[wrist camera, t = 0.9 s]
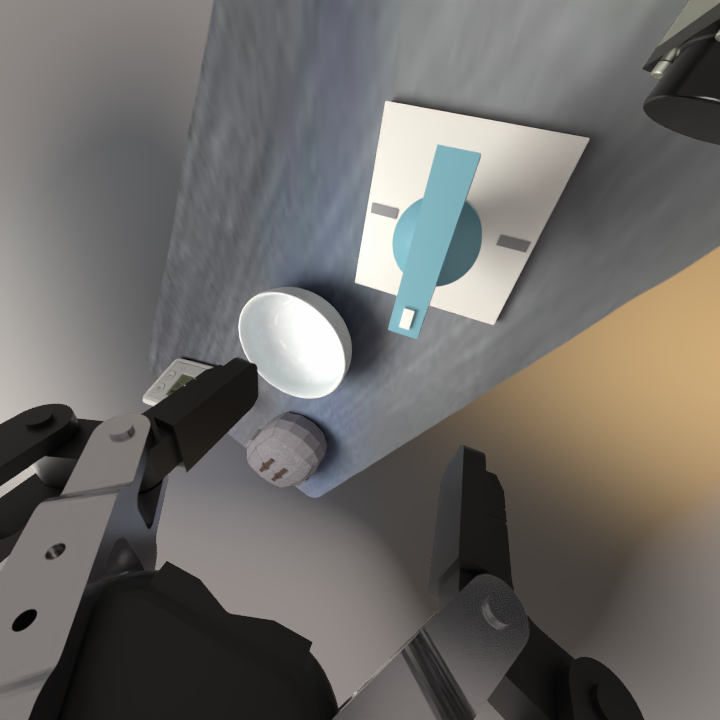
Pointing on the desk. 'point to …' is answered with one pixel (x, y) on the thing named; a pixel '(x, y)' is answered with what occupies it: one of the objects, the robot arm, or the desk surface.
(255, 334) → the cereal bowl
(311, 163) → the desk surface
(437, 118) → the base plate
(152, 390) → the digital clock
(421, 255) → the blue switch lever
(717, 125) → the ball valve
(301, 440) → the small grey backpack
